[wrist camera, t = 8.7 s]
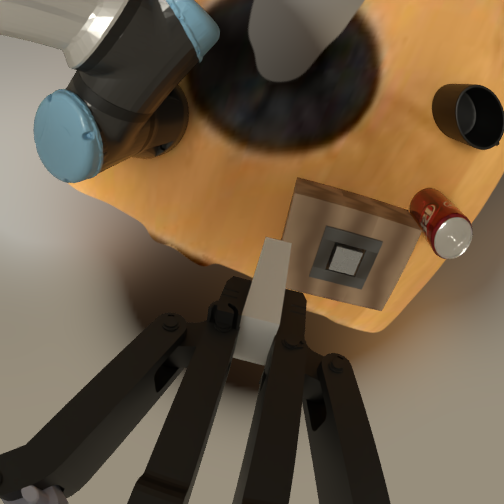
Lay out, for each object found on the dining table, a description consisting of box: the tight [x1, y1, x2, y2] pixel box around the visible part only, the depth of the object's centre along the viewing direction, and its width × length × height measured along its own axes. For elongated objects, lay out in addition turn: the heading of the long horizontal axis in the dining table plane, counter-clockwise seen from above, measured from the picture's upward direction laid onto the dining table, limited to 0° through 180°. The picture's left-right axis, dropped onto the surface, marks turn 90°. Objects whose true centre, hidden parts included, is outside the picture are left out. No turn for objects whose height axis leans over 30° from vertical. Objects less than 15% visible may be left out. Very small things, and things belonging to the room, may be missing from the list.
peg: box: [329, 242, 363, 275], centre depth 46 cm, size 4×4×8 cm
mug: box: [432, 84, 504, 150], centre depth 32 cm, size 9×12×9 cm
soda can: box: [410, 189, 473, 259], centre depth 39 cm, size 7×7×12 cm
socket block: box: [281, 178, 422, 311], centre depth 47 cm, size 20×16×8 cm
